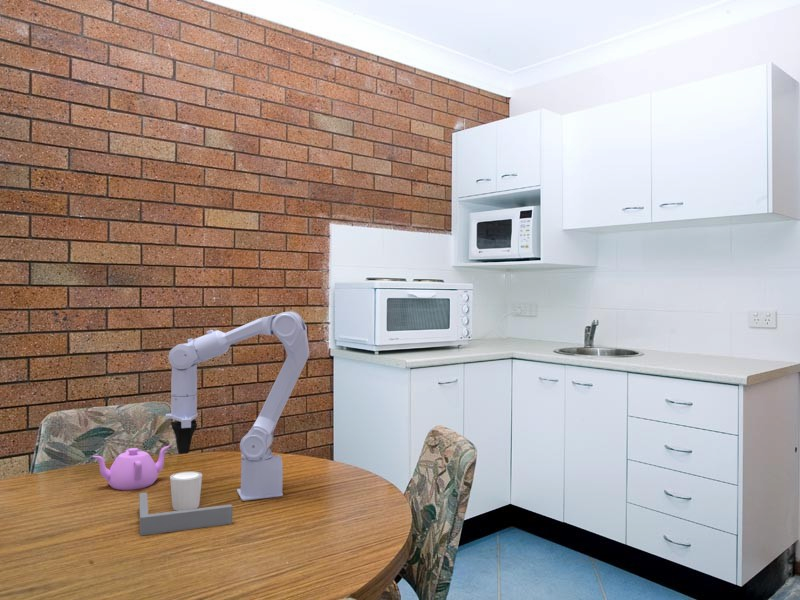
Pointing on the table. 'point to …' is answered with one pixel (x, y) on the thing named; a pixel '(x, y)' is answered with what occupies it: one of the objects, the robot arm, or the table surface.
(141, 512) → the l-shaped bracket
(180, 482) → the shot glass
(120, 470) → the teapot
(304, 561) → the table surface
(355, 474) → the table surface
